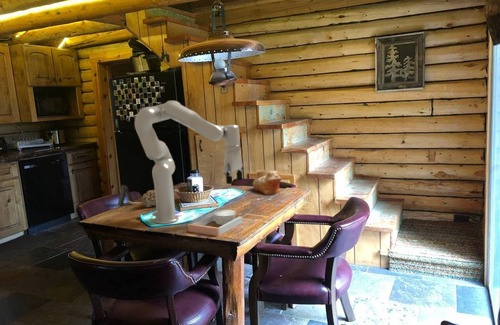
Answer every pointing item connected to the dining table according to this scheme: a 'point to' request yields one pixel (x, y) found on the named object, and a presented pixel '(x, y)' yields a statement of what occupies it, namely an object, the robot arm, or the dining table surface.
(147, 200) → the knobbly ball on stick
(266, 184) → the bread loaf
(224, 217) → the ramekin
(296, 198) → the dining table surface
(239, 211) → the dining table surface
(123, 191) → the phone stand
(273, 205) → the dining table surface
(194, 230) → the bay
